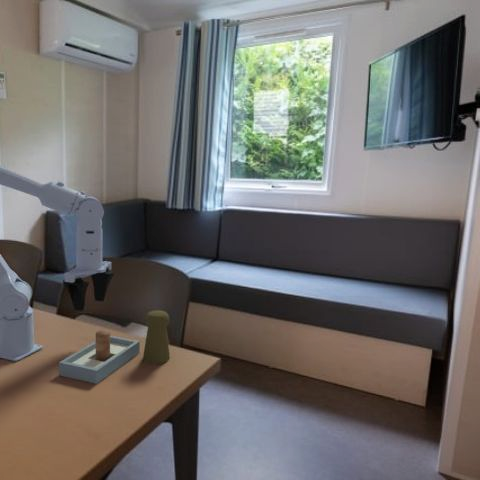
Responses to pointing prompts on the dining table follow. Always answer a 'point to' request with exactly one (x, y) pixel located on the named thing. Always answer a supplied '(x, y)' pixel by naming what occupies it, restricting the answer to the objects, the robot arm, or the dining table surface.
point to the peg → (102, 345)
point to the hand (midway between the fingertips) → (89, 305)
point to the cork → (156, 338)
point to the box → (93, 370)
